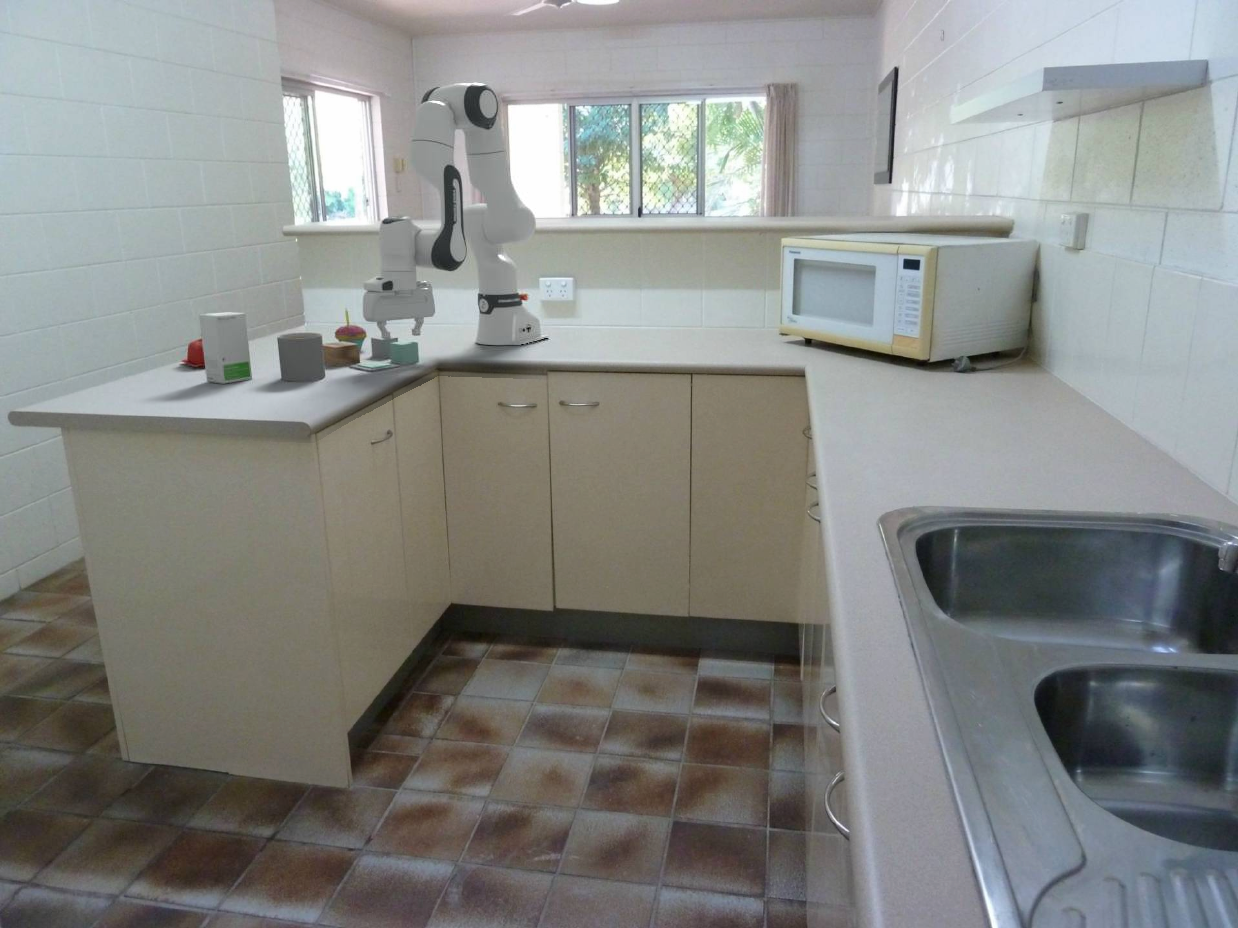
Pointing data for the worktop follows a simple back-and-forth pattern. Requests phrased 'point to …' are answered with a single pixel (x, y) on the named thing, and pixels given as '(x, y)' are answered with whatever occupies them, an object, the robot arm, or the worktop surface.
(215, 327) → the skincare box
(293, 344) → the coffee mug
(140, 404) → the worktop surface
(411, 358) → the teal block
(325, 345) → the walnut block
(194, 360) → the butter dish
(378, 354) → the grey block
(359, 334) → the cupcake
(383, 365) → the tile
